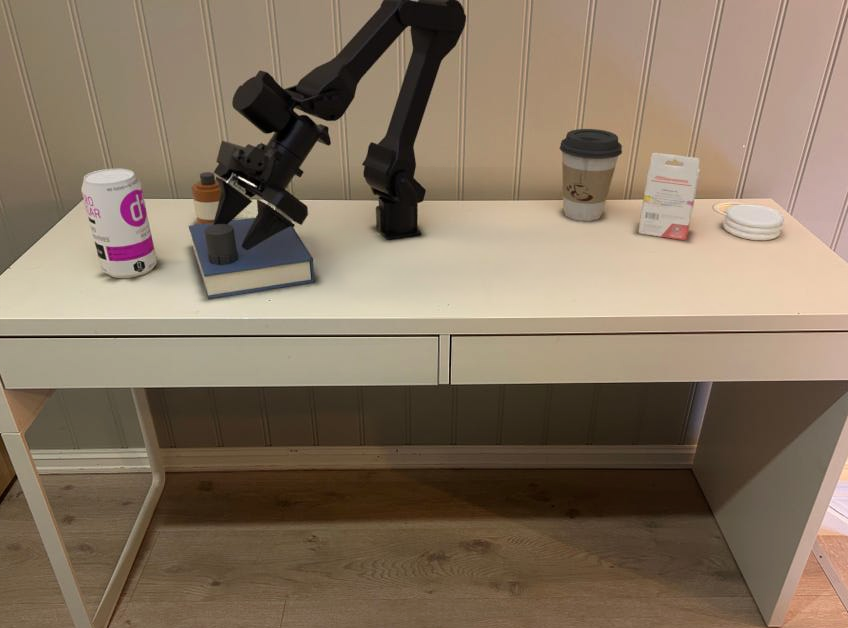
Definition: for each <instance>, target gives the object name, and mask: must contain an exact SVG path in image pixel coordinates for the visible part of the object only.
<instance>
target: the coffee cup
mask: <svg viewBox="0 0 848 628" xmlns="http://www.w3.org/2000/svg"><path fill="white" fill-rule="evenodd" d="M565 135H566V136H565V138H563V139H562V140H561V142H560V146H559V150H560V151H561V161H562V163H561V165H562V166H561V167H562V209H563V214H564V215H565V217H567V218H568V219H571V220H574V221H580V222H591V221H596V220H599V219H600V218H601V217H602V214H603V213H604V209H605V207H606V203H607V199H608V195H609V191H610V188H611V185H612V181H613V178H614V173H615V169H616V166H617V162H618V158H619V156H621V155H622V154H623V145H622V144H621V143H620V142H619V136H618V135H617V134H615V133H614V132H611V131H608V130H605V129H604V130H603V129H598V128H597V129H596V128H577V129H572V130H570V131H567V133H566V134H565Z"/></svg>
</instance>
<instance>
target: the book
mask: <svg viewBox="0 0 848 628" xmlns="http://www.w3.org/2000/svg"><path fill="white" fill-rule="evenodd" d="M255 218H256V216H255V217H248V218H240V219H239V218H238V219H233V220H232V221H231V222H229V223H228V225H231V226H233V227H234V233H235V240H236V247H237V251H238V258H239V259H238V260H237V261H235V262H233V263H231V264H226V265H216V264H211V263H210V262H209V258H208V252H207V251H208V250H207V244H206V238H205V233H204V230H205V228H206V227H208V226H211V225H213V223H207V224H199V225H198V224H192V225H188V229H189V233H190V237H191V243H192V245H191V248H192V251H193V254H194V258H195V261H196V264H197V267H198V270H199V274H200V278H201V280H202V284H203V286H204V289H205V290H204V291H205V293H206V297H207V299H208V300H212V299H217V298H223V297H224V298H226V297H230V296H236V295H243V294H244V295H245V294H249V293H257V292H262V291H268V290H275V289H282V288H287V287H294V286H300V285H307V284H313V283H316V278H315V267H314V265H315V264H314V258H313V256H312V255H311V253H310V251H309V250H308V249H307V247H306V245H305V244H304V242H303V240H302V239H301V237H300V235H299V234H298V232H297V231H296V229H295V228H294V227H288V228H286V229H284V230H282V231H280V232H279V233H277V234H275V235H273V236H271V237H269V238H268V239H266V240H264V241H263V242H261V243H259V244H258V245H256V246H254V247H253V248H251V249H249V250H245V249H244V248H242V243H243V241H244V239H245V237H246V235H247V233H248V231H249V229H250V227H251V226H252V224H253V222H254V220H255Z"/></svg>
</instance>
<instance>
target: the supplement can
mask: <svg viewBox="0 0 848 628" xmlns="http://www.w3.org/2000/svg"><path fill="white" fill-rule="evenodd" d="M80 189H81V194H82V199H83V203H84V206H85V210H86V213H87V217H88V223H89V225H90V229H91V233H92V237H93V241H94V245H95V249H96V253H97V257H98V261H99V265H100V269H101V271H102V272H103V273H105V274H107V275H108V276H110V277H113V278H115V279H132V278H137V277H140V276H142V275H146V274H148V273H150V272H151V271H152V270H153V269H154V267H155V266H156V265H157V264H158V259H157V254H156V250H155V246H154V245H155V244H154V241H153V235H152V230H151V226H150V221H149V217H148V212H147V207H146V201H145V198H144V197H145V196H144V193H143V192H144V191H143V187H142V183H141V180H140V179H139V178H138V177H137V176H136V175H135V172H134V171H133V170H130V169H127V168H105V169H99V170H95V171H92V172H89V173H87V174H85V175H84V176H83V182H82V185H81V188H80Z"/></svg>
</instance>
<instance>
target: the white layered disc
mask: <svg viewBox="0 0 848 628" xmlns="http://www.w3.org/2000/svg"><path fill="white" fill-rule="evenodd" d="M783 223H785V217H784V215H783V214H782V213H781V212H779V211H778V210H776V209H774V208H771V207H769V206H764V205H758V204H751V203H749V204H748V203H742V204H740V203H739V204H735V205H731V206H730V207H728V208H726V211H725V216H724V220H723V225H722V226H723V228H724V230H725V231H726V232H728V233H729V234H731V235H732V236H735V237H738V238H741V239H745V240H750V241H771V240H774V239H776V238H778V237H780V235H781V233H782V229H783Z"/></svg>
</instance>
